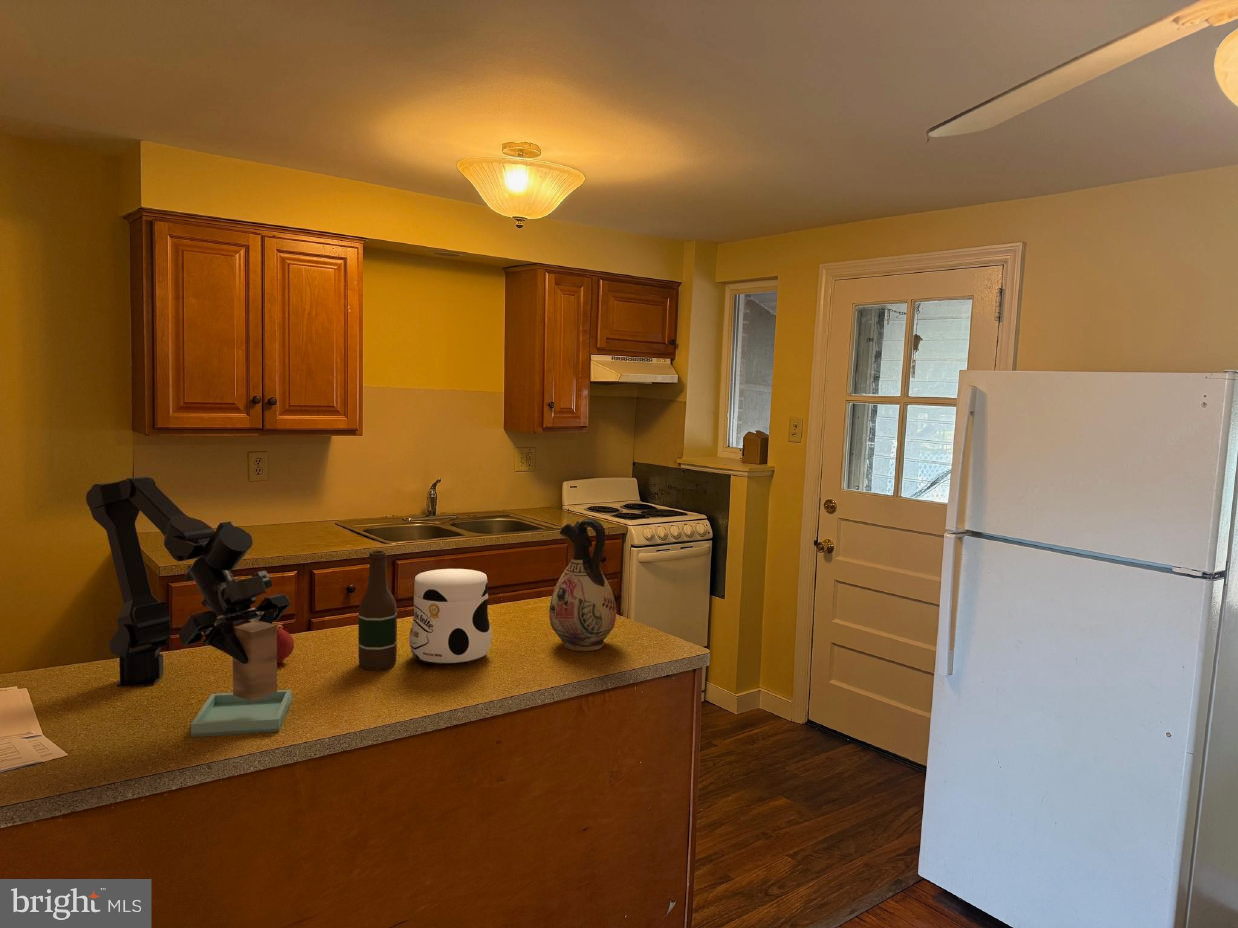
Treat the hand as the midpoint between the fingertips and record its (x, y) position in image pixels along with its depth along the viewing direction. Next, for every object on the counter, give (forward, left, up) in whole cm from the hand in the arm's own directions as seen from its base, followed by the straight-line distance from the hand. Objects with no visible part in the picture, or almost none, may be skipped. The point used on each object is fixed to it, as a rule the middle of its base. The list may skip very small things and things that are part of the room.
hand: (260, 658), depth 143 cm
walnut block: (-1, +1, -7) cm, 7 cm away
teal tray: (-3, +1, -11) cm, 12 cm away
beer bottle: (+18, +26, -11) cm, 34 cm away
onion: (-2, +30, -11) cm, 32 cm away
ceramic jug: (+63, +32, -11) cm, 72 cm away
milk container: (+33, +28, -11) cm, 45 cm away
